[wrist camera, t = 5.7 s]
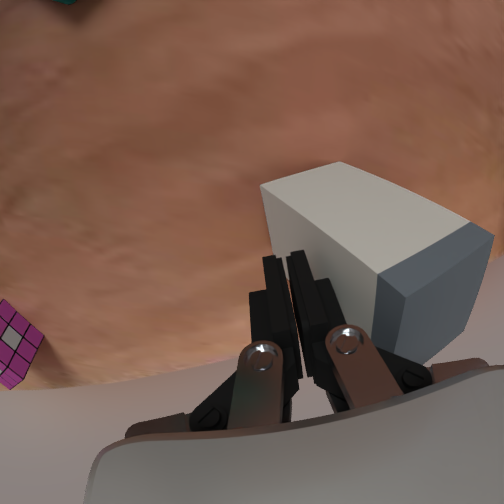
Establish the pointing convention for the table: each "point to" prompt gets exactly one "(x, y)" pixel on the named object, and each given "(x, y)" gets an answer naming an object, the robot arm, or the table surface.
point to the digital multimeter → (66, 1)
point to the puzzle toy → (16, 345)
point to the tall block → (381, 254)
